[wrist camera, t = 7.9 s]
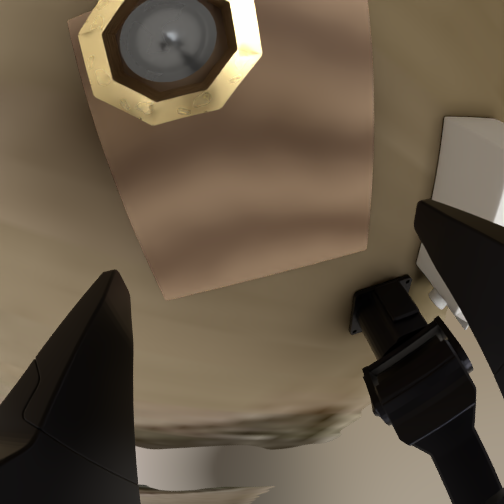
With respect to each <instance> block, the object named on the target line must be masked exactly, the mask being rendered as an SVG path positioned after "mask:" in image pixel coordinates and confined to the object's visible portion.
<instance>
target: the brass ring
mask: <svg viewBox="0 0 504 504" xmlns="http://www.w3.org/2000/svg"><path fill="white" fill-rule="evenodd" d="M138 1H139V0H99V2H98V3H97V5H96V6H95V8H94V9H93V11H92V12H91V14H90V15H89V17H88V19H87V20H86V22H85V23H84V25H83V27H82V28H81V30H80V32H79V34H80V35H78V37H79V42H80V46H81V50H82V54H83V58H84V62H85V66H86V70H87V73H88V77H89V81H90V84H91V88H92V91H93V95H94V96H95V97H96V98H98V99H100V100H102V101H104V102H106V103H108V104H110V105H112V106H114V107H116V108H118V109H120V110H122V111H124V112H126V113H128V114H130V115H132V116H134V117H136V118H138V119H140V120H142V121H144V122H146V123H148V124H150V125H154V126H155V125H158V124H162V123H165V122H169V121H173V120H176V119H180V118H184V117H188V116H192V115H196V114H201V113H205V112H209V111H214V110H218V109H220V108H222V107H223V106H224V104H225V103H226V101H227V100H228V99H229V97H230V96H231V95H232V93H233V92H234V91H235V89H236V88H237V87H238V85H239V84H240V83H241V81H242V80H243V79H244V77H245V76H246V75H247V73H248V72H249V71H250V70H251V68H252V67H253V66H254V65H255V63H256V62H257V61H258V59H259V58H260V57H261V56H262V55H261V54H262V48H261V42H260V35H259V29H258V23H257V17H256V11H255V5H254V0H207V1H208V2H210V3H212V4H214V5H215V6H217V7H219V8H220V9H221V11H222V16H223V22H224V27H225V33H226V39H227V44H228V49H227V50H226V51H225V53H224V54H223V55H222V57H221V58H220V59H219V61H218V62H217V63H216V65H215V66H214V67H213V69H212V70H211V71H210V73H209V74H208V75H207V77H206V78H205V80H204V81H203V82H200V83H195V84H191V85H187V86H183V87H179V88H175V89H171V90H167V91H164V92H159V91H157V90H155V89H153V88H151V87H150V86H148V85H146V84H144V83H142V82H140V81H138V80H136V79H134V78H132V77H130V76H128V75H126V74H124V70H123V66H122V62H121V58H120V54H119V50H118V46H117V42H116V37H115V35H116V33H117V32H118V30H119V28H120V27H121V25H122V24H123V22H124V21H125V20H126V18H127V17H128V15H129V14H130V12H131V11H132V9H133V8H134V7H135V5H136V4H137V2H138Z"/></svg>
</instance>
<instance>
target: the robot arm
mask: <svg viewBox="0 0 504 504" xmlns="http://www.w3.org/2000/svg"><path fill="white" fill-rule="evenodd" d="M414 228H415V231H416V233H417V235H418V236H419V238H420V240H421V242H422V244H423V245H424V247H425V249H426V251H427V253H428V255H429V257H430V259H431V261H432V263H433V264H434V266H435V268H436V270H437V271H438V273H439V275H440V276H441V278H442V280H443V281H444V283H445V284H446V286H447V288H448V289H449V291H450V293H451V294H452V296H453V298H454V300H455V301H456V303H457V305H458V306H459V308H460V310H461V312H462V314H463V315H464V317H465V319H466V321H467V323H468V324H469V326H470V328H471V330H472V332H473V334H474V336H475V338H476V340H477V342H478V344H479V345H480V347H481V349H482V351H483V354H484V356H485V358H486V360H487V362H488V364H489V366H490V368H491V370H492V372H493V374H494V377H495V379H496V382H497V384H498V386H499V389H500V391H501V393H502V396H503V398H504V227H503V226H501V225H498V224H496V223H493V222H491V221H488V220H486V219H483V218H481V217H478V216H476V215H473V214H471V213H468V212H465V211H463V210H460V209H457V208H454V207H452V206H449V205H446V204H443V203H441V202H438V201H435V200H432V199H425V200H421V201H419V202H418V204H417V208H416V214H415V220H414ZM411 281H412V279H411V277H410V276H409V275H407V276H404V277H401V278H398V279H395V280H392V281H389V282H386V283H383V284H380V285H377V286H374V287H371V288H367V289H364V290H361V291H358V292H357V293H355V295H354V299H353V307H352V314H351V321H350V327H349V332H350V334H351V335H353V334H357V333H360V332H363V333H364V335H365V337H366V339H367V341H368V343H369V345H370V347H371V349H372V350H373V352H374V354H375V356H376V358H377V361H376V362H374V363H372V364H371V365H369V366H366V367H365V368H363V369H362V370H363V373H364V376H363V379H364V381H365V383H366V386H367V389H368V392H369V395H370V398H371V404H372V409H373V413H374V414H375V416H379V417H381V418H382V419H383V420H384V422H385V423H386V424H388V425H393V427H394V429H395V431H396V433H397V435H398V437H399V439H400V440H401V441H403V442H404V443H406V444H407V445H410V446H411V445H412V446H414V447H416V448H418V449H420V450H422V451H424V452H425V453H427V454H429V455H430V456H431V457H432V459H433V462H434V464H435V466H436V468H437V470H438V472H439V475H440V477H441V479H442V481H443V483H444V486H445V488H446V490H447V492H448V495H449V497H450V499H451V502H452V504H504V488H502V486H501V483H500V481H499V479H498V476H497V474H496V472H495V469H494V467H493V465H492V463H491V461H490V459H489V456H488V454H487V452H486V450H485V448H484V446H483V444H482V442H481V440H480V438H479V436H478V434H477V432H476V430H475V428H474V423H475V408H476V387H475V385H474V383H473V381H472V379H471V378H470V376H469V373H470V372H471V371H473V367H472V364H471V362H470V360H469V358H468V357H467V355H466V353H465V351H464V350H463V348H462V347H461V345H460V344H459V342H458V341H457V340H456V338H455V337H454V336H453V334H452V333H451V332H450V330H449V329H448V328H447V326H446V325H445V324H444V322H443V321H442V320H441V318H440V317H439V316H437V317H436V318H435V319H434V320H433V321H432V322H431V323H430V324H427V322H426V321H425V319H424V318H423V316H422V315H421V313H420V312H419V309H418V307H417V306H416V304H415V303H414V301H413V300H412V298H411V297H410V296H409V294H408V292H409V289H410V285H411ZM137 484H138V477H137V465H136V452H135V435H134V410H133V332H132V319H131V302H130V294H129V291H128V289H127V287H126V285H125V283H124V281H123V279H122V277H121V275H120V273H119V272H118V271H117V270H110V271H106V272H103V273H102V274H101V275H100V276H99V278H98V279H97V280H96V281H95V282H94V283H93V285H92V286H91V287H90V288H89V289H88V291H87V292H86V293H85V294H84V295H83V297H82V298H81V299H80V300H79V302H78V303H77V304H76V305H75V306H74V308H73V309H72V310H71V311H70V313H69V314H68V315H67V316H66V318H65V319H64V320H63V321H62V323H61V324H60V325H59V327H58V328H57V329H56V331H55V332H54V333H53V334H52V336H51V337H50V338H49V340H48V341H47V342H46V344H45V345H44V346H43V348H42V349H41V350H40V352H39V353H38V355H37V356H36V359H34V360H33V361H32V363H31V364H30V366H29V367H28V368H27V370H26V371H25V373H24V374H23V375H22V377H21V378H20V379H19V381H18V382H17V384H16V385H15V386H14V387H13V389H12V390H11V391H10V393H9V394H8V395H7V397H6V398H5V399H4V400H3V402H2V403H1V404H0V504H141V503H140V495H139V486H138V485H137Z"/></svg>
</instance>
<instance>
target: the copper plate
mask: <svg viewBox="0 0 504 504" xmlns="http://www.w3.org/2000/svg"><path fill="white" fill-rule="evenodd" d="M145 1H147V0H139V1H138V2H137V4H136V5H135V7H134V8H133V9H132V11H131V12H130V14H131V13H132V12H133V11H134V10H135V9H136V8H137V7H138V6H139V5H141V4H142V3H144V2H145ZM197 1H198V2H200V3H201V4H202V5H204V6H205V7H206V8H207V9H208V11H209V12H210V13H211V15H212V17H213V19H214V21H215V25H216V31H217V38H216V44H215V47H214V50H213V52H212V54H211V56H210V58H209V59H208V61H207V62H206V63H205V64H204V65H203V66H202V67H201V68H200V69H199V70H198V71H196V72H195V73H193V74H192V75H190V76H188V77H186V78H183V79H180V80H177V81H172V82H155V81H151V80H147V79H145V78H142V77H140V76H139V75H137V74H136V73H134V72H133V71H132V70H131V69H130V68H129V67H128V66H127V64H126V63H125V61H124V59H123V57H122V54H121V50H120V34H121V30H122V27H123V25H124V23H125V21H126V20H125V21H124V22H123V24H122V25H121V27H120V28H119V30H118V32H117V33H116V35H115V37H116V42H117V46H118V50H119V54H120V58H121V62H122V66H123V70H124V74H126V75H128V76H130V77H132V78H134V79H136V80H138V81H140V82H142V83H144V84H146V85H148V86H150V87H151V88H153V89H155V90H157V91H159V92H164V91H167V90H171V89H175V88H179V87H183V86H187V85H191V84H195V83H200V82H203V81H204V80H205V78H206V77H207V75H208V74H209V73H210V71H211V70H212V69H213V67H214V66H215V65H216V63H217V62H218V61H219V59H220V58H221V57H222V55H223V54H224V53H225V51H226V50H227V49H228V44H227V39H226V33H225V27H224V22H223V16H222V11H221V9H220V8H219V7H217V6H215V5H214V4H212V3H210V2H208V1H207V0H197ZM254 5H255V11H256V17H257V23H258V29H259V35H260V42H261V48H262V54H261V55H262V56H261V57H260V58H259V59H258V61H257V62H256V63H255V65H254V66H253V67H252V68H251V70H250V71H249V72H248V73H247V75H246V76H245V77H244V79H243V80H242V81H241V83H240V84H239V85H238V87H237V88H236V89H235V91H234V92H233V93H232V95H231V96H230V97H229V99H228V100H227V101H226V103H225V104H224V106H223V107H222V108H220V109H218V110H214V111H209V112H205V113H201V114H196V115H192V116H188V117H184V118H180V119H176V120H173V121H169V122H165V123H162V124H158V125H155V126H154V125H150V124H148V123H146V122H144V121H142V120H140V119H138V118H136V117H134V116H132V115H130V114H128V113H126V112H124V111H122V110H120V109H118V108H116V107H114V106H112V105H110V104H108V103H106V102H104V101H102V100H100V99H98V98H96V97H95V96H94V95H93V91H92V88H91V84H90V81H89V77H88V73H87V70H86V66H85V62H84V58H83V54H82V50H81V46H80V42H79V37H78V35H80V34H79V32H80V30H81V28H82V27H83V25H84V23H85V22H86V20H87V19H88V17H89V15H90V14H91V12H92V11H93V10H91V11H88V12H86V13H83V14H81V15H79V16H76V17H74V18H71V19H69V20H67V23H68V27H69V32H70V36H71V41H72V45H73V49H74V53H75V57H76V61H77V65H78V69H79V73H80V76H81V80H82V84H83V87H84V91H85V94H86V98H87V101H88V104H89V108H90V111H91V114H92V117H93V121H94V124H95V127H96V130H97V133H98V136H99V139H100V142H101V145H102V148H103V151H104V154H105V156H106V159H107V162H108V165H109V168H110V170H111V173H112V176H113V179H114V181H115V184H116V187H117V189H118V192H119V194H120V197H121V200H122V202H123V205H124V207H125V210H126V212H127V215H128V217H129V220H130V222H131V224H132V227H133V229H134V232H135V234H136V236H137V239H138V241H139V243H140V246H141V248H142V250H143V253H144V255H145V257H146V259H147V262H148V264H149V266H150V268H151V270H152V273H153V275H154V277H155V279H156V281H157V283H158V286H159V288H160V290H161V292H162V294H163V296H164V298H165V300H166V301H167V300H171V299H175V298H179V297H184V296H188V295H192V294H196V293H200V292H205V291H209V290H213V289H217V288H221V287H225V286H229V285H233V284H237V283H241V282H245V281H249V280H253V279H257V278H261V277H265V276H269V275H273V274H277V273H281V272H285V271H289V270H292V269H296V268H300V267H304V266H308V265H312V264H315V263H319V262H323V261H327V260H330V259H334V258H338V257H341V256H345V255H349V254H353V253H356V252H360V251H363V250H367V241H368V231H369V220H370V208H371V194H372V178H373V154H374V80H373V58H372V42H371V29H370V18H369V9H368V0H254ZM130 14H129V15H130ZM129 15H128V16H129ZM127 18H128V17H127ZM127 18H126V19H127Z"/></svg>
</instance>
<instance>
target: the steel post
mask: <svg viewBox="0 0 504 504" xmlns="http://www.w3.org/2000/svg"><path fill="white" fill-rule="evenodd" d="M216 38H217V31H216V25H215V21H214V19H213V17H212V15H211V13H210V12H209V11H208V9H207V8H206V7H205V6H204V5H202V4H201V3H200V2H198V1H197V0H147V1H145V2H144V3H142V4H141V5H139V6H138V7H137V8H136V9H135V10H134V11H133V12H132V13H131V14H130V15H129V16H128V18H127V19H126V21H125V23H124V25H123V27H122V30H121V34H120V50H121V54H122V57H123V59H124V61H125V63H126V64H127V66H128V67H129V68H130V69H131V70H132V71H133V72H134V73H136V74H137V75H139V76H140V77H142V78H145V79H147V80H151V81H155V82H172V81H177V80H180V79H183V78H186V77H188V76H190V75H192V74H193V73H195V72H196V71H198V70H199V69H200V68H201V67H202V66H203V65H204V64H205V63H206V62H207V61H208V59H209V58H210V56H211V54H212V52H213V50H214V47H215V44H216Z"/></svg>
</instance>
